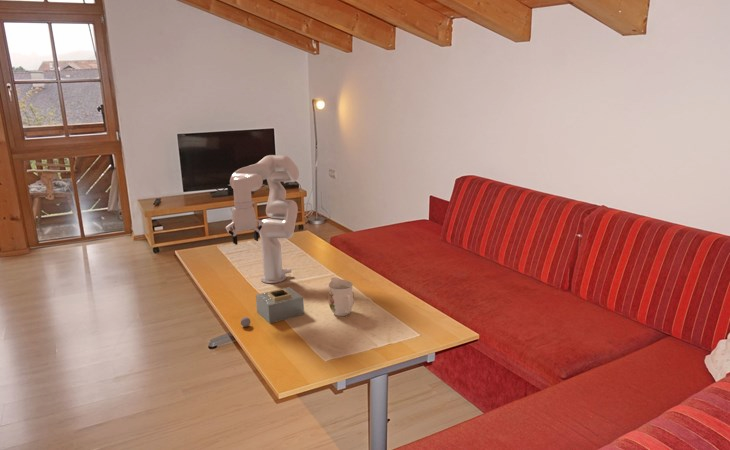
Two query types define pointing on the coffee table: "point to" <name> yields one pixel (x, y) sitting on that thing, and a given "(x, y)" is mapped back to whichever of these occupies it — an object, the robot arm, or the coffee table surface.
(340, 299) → the pitcher
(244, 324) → the bead
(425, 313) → the coffee table surface
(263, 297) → the grey box with opening
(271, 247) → the robot arm
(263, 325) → the coffee table surface
